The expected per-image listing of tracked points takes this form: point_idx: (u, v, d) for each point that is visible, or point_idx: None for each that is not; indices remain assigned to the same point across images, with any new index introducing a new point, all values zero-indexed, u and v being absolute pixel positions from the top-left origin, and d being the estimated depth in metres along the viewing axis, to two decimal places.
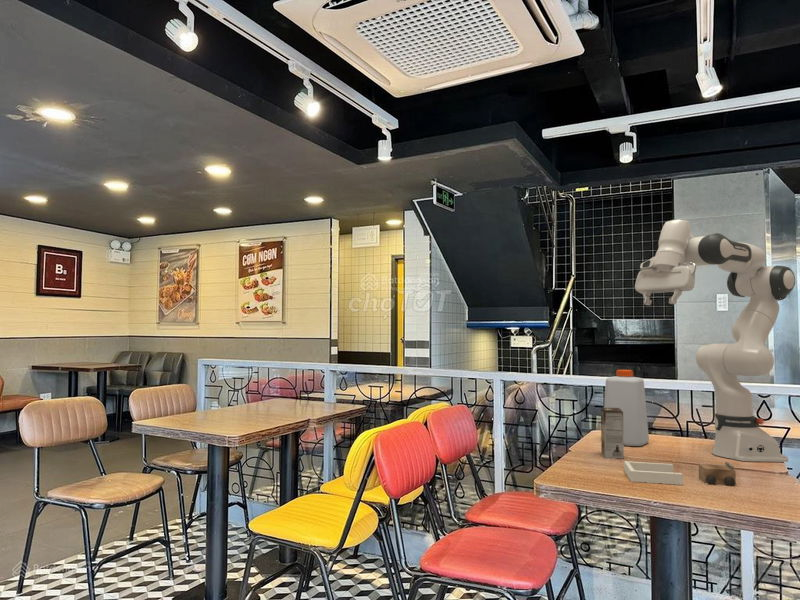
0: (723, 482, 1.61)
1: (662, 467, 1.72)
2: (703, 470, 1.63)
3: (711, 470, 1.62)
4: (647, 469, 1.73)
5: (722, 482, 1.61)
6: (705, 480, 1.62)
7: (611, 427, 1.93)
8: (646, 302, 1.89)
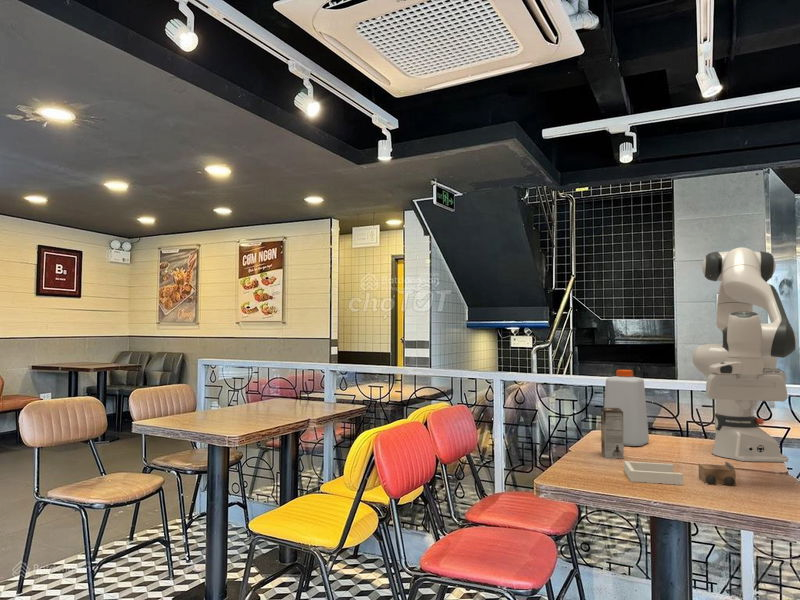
0: (723, 482, 1.61)
1: (662, 467, 1.72)
2: (703, 470, 1.63)
3: (711, 470, 1.62)
4: (647, 469, 1.73)
5: (722, 482, 1.61)
6: (705, 480, 1.62)
7: (611, 427, 1.93)
8: (745, 414, 1.62)
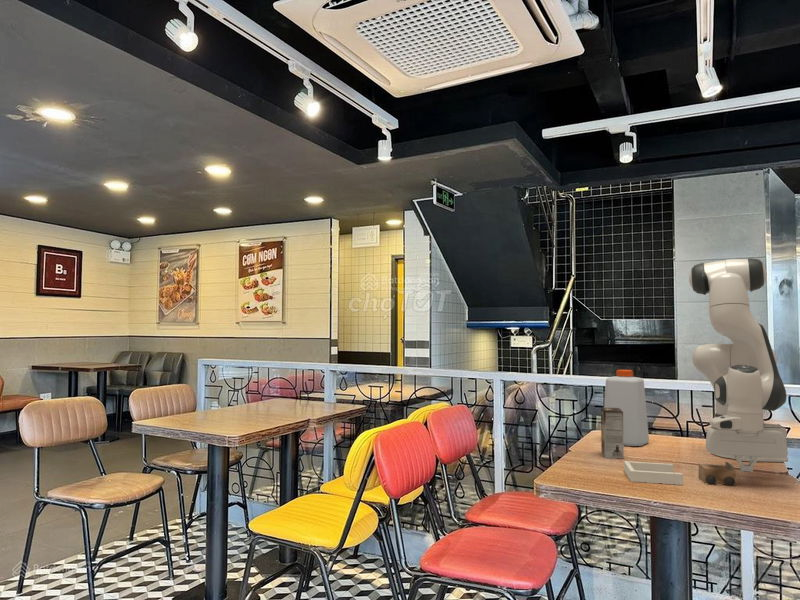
0: (723, 482, 1.61)
1: (662, 467, 1.72)
2: (703, 470, 1.63)
3: (711, 470, 1.62)
4: (647, 469, 1.73)
5: (722, 482, 1.61)
6: (705, 480, 1.62)
7: (611, 427, 1.93)
8: (745, 470, 1.61)
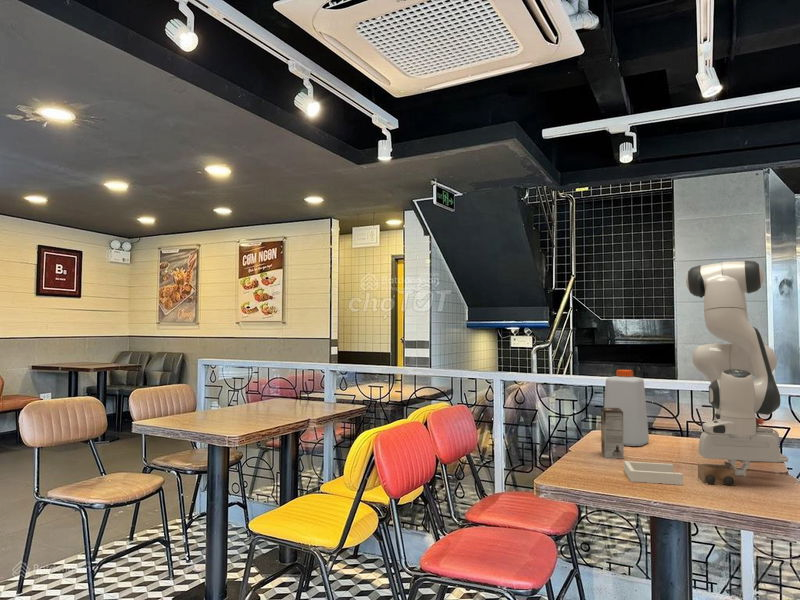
0: (722, 482, 1.61)
1: (662, 467, 1.72)
2: (702, 470, 1.63)
3: (710, 470, 1.62)
4: (647, 469, 1.73)
5: (721, 482, 1.61)
6: (704, 480, 1.62)
7: (611, 427, 1.93)
8: (738, 474, 1.62)
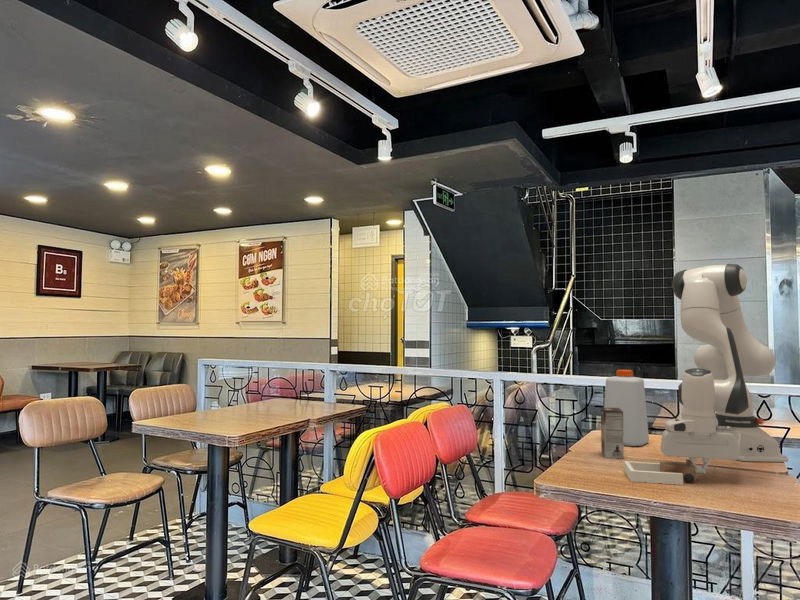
0: (683, 479, 1.63)
1: None
2: (663, 467, 1.65)
3: (671, 467, 1.64)
4: (647, 469, 1.73)
5: None
6: None
7: (611, 427, 1.93)
8: (698, 472, 1.64)
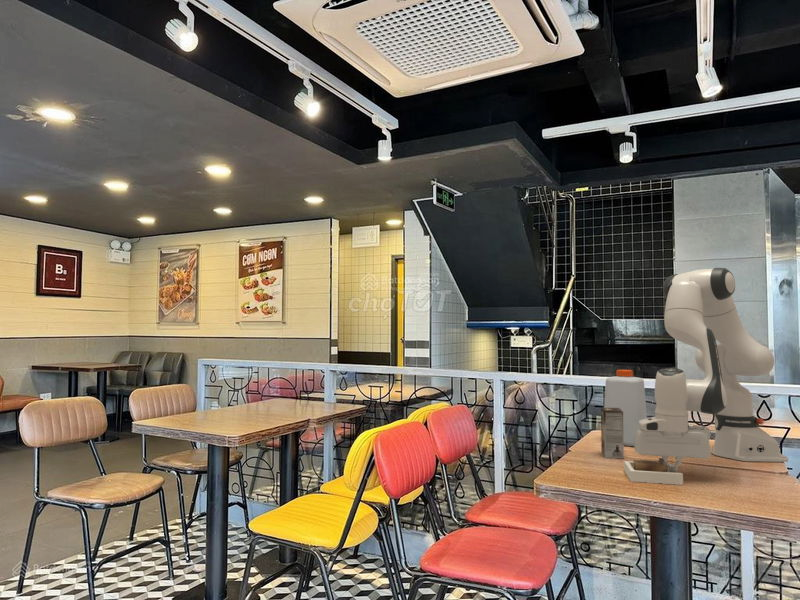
0: None
1: None
2: (636, 466, 1.67)
3: (644, 466, 1.66)
4: None
5: None
6: None
7: (611, 427, 1.93)
8: (671, 470, 1.66)
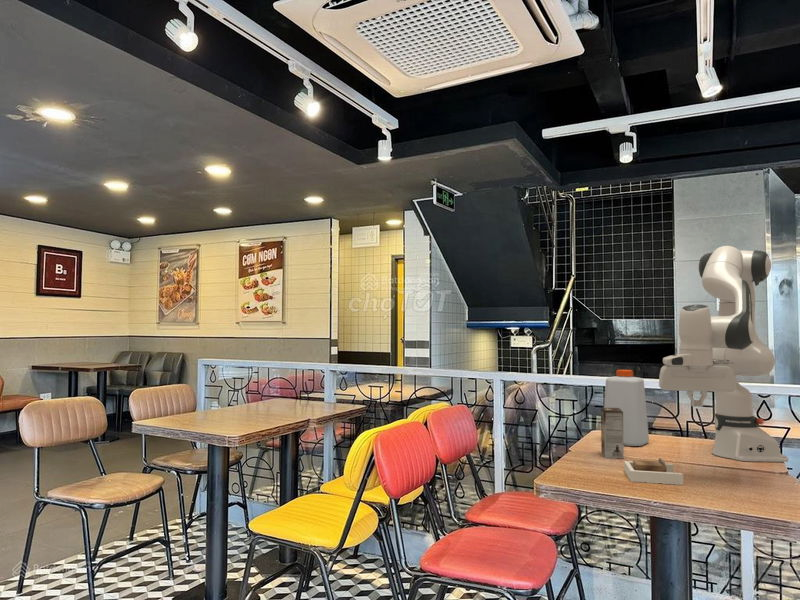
0: None
1: None
2: (636, 466, 1.67)
3: (643, 466, 1.66)
4: None
5: None
6: None
7: (611, 427, 1.93)
8: (696, 405, 1.67)
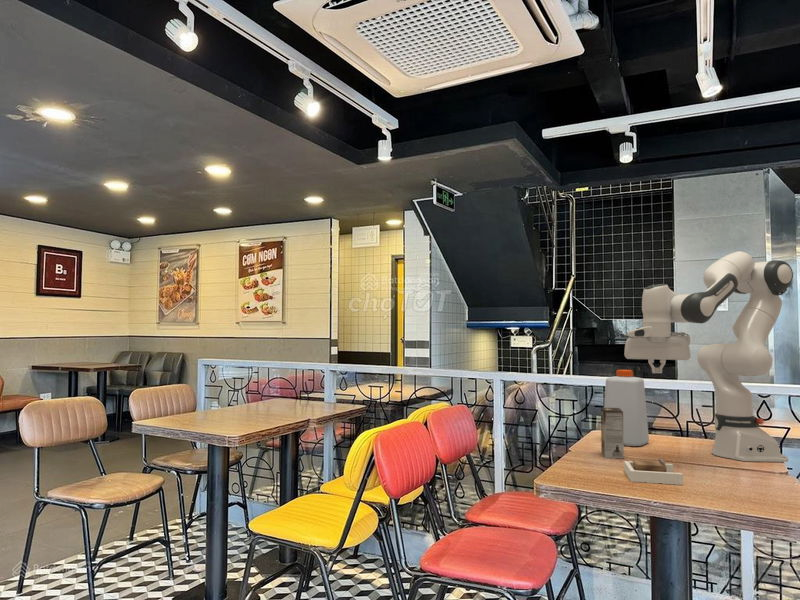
0: None
1: None
2: (636, 466, 1.67)
3: (643, 466, 1.66)
4: None
5: None
6: None
7: (611, 427, 1.93)
8: (656, 372, 1.91)
